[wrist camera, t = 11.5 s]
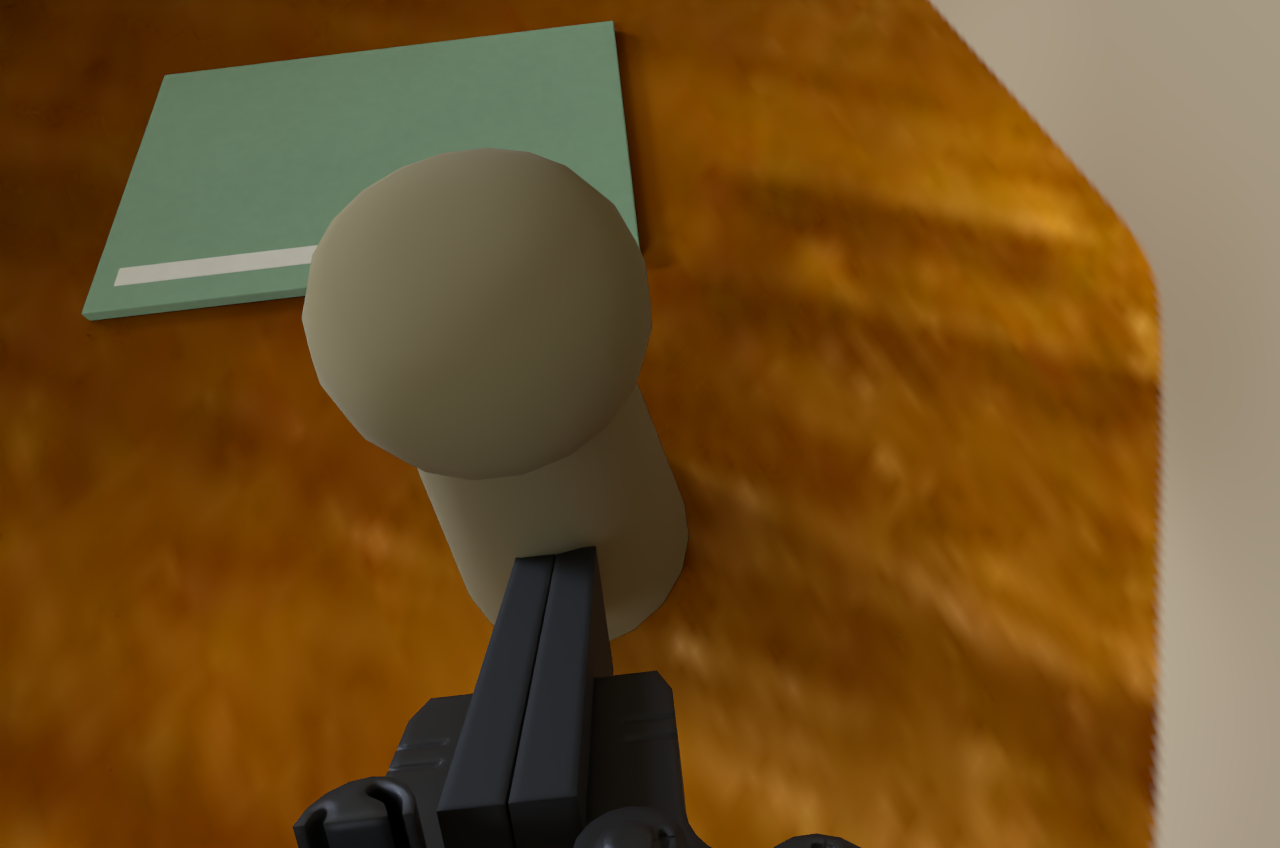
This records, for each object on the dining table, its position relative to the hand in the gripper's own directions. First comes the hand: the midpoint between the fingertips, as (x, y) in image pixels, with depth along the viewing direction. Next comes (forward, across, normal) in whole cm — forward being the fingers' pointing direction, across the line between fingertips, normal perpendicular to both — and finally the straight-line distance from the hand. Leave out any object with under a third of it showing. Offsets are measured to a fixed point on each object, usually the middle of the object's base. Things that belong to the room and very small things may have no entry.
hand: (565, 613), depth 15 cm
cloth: (+16, -6, +10) cm, 20 cm away
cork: (+5, 0, 0) cm, 5 cm away
